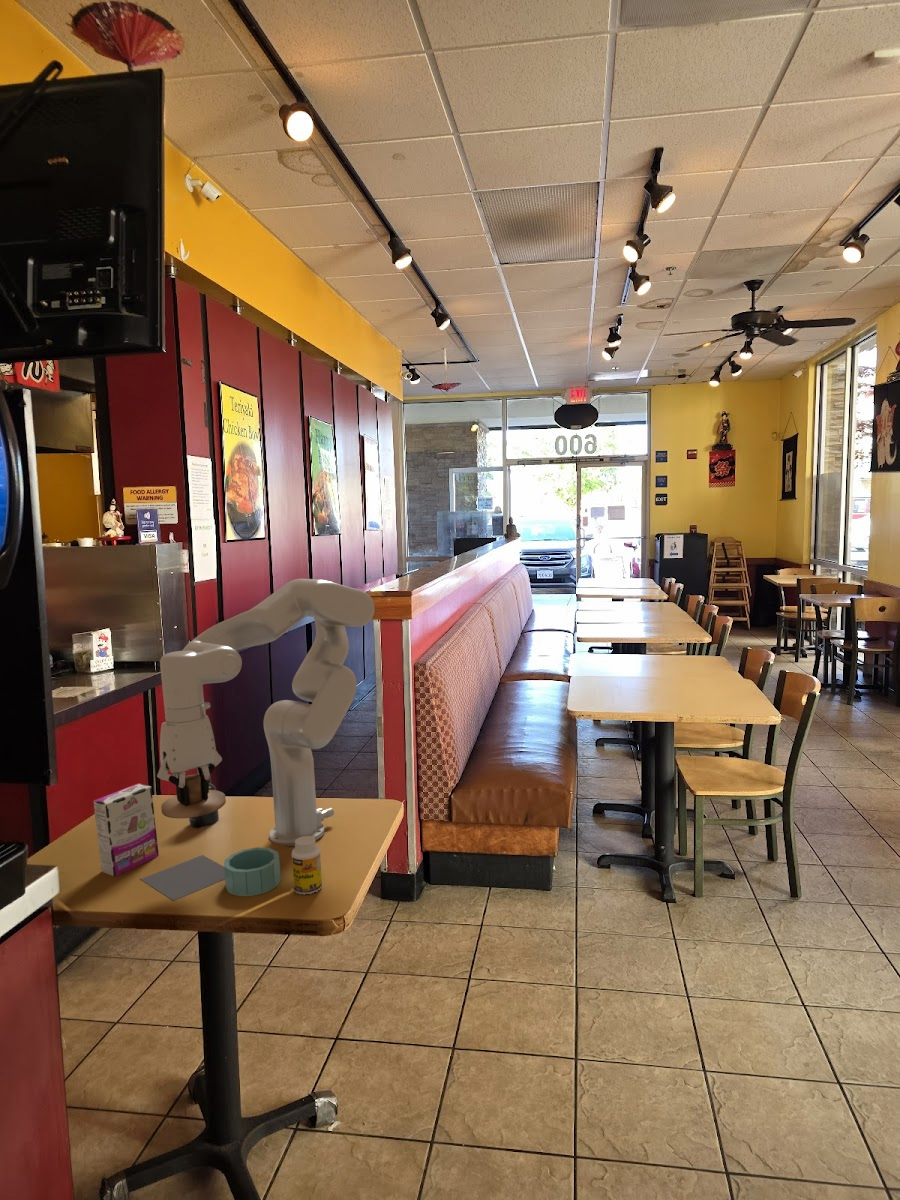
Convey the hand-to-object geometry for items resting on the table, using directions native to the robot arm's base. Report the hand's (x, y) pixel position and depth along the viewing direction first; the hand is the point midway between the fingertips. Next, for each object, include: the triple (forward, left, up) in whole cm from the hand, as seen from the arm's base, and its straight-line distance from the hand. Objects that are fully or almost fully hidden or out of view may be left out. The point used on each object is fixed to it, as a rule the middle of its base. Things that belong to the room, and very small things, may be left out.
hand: (193, 800), depth 158 cm
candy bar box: (+6, -18, -17) cm, 26 cm away
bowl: (-6, +11, -17) cm, 21 cm away
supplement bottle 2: (-12, +21, -17) cm, 29 cm away
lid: (0, 0, -1) cm, 1 cm away
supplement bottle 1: (-16, -26, -17) cm, 35 cm away
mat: (+1, -2, -17) cm, 17 cm away
